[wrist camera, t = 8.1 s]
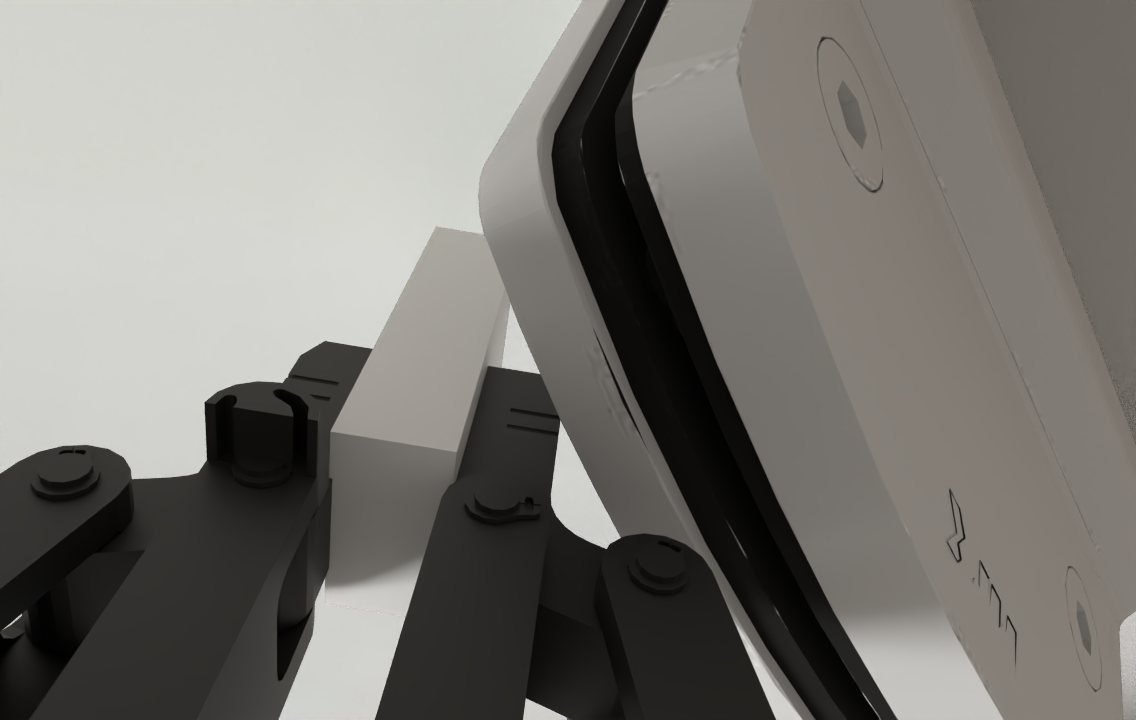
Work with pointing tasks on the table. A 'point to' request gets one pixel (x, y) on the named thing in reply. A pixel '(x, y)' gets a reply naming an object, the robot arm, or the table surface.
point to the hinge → (828, 347)
